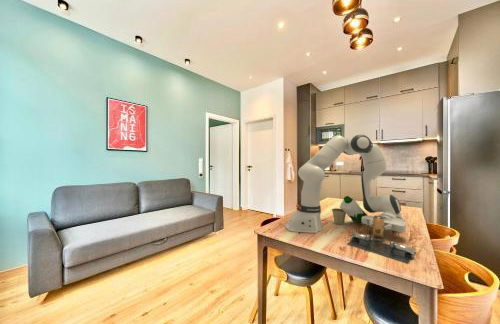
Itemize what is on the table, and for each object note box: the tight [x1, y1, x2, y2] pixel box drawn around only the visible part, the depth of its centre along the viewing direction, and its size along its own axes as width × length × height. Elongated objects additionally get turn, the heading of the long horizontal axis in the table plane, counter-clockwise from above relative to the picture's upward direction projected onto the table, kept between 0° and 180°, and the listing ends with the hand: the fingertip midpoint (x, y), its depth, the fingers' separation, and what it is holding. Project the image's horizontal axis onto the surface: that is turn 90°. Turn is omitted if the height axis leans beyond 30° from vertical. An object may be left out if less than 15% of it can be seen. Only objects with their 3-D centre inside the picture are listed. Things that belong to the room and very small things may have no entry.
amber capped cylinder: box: [371, 215, 386, 243], centre depth 103 cm, size 5×5×12 cm
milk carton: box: [339, 195, 369, 225], centre depth 128 cm, size 9×9×20 cm
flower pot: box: [331, 208, 347, 225], centre depth 131 cm, size 9×9×9 cm
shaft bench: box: [346, 231, 417, 264], centre depth 93 cm, size 25×14×5 cm, turn 40°
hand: (377, 226), depth 102 cm, fingers closed on amber capped cylinder, 5 cm apart
